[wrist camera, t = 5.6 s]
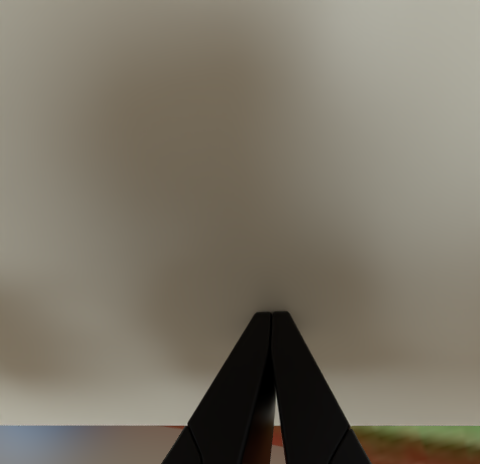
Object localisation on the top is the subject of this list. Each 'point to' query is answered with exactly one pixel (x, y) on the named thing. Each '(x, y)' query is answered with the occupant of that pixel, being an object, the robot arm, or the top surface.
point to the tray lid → (238, 202)
